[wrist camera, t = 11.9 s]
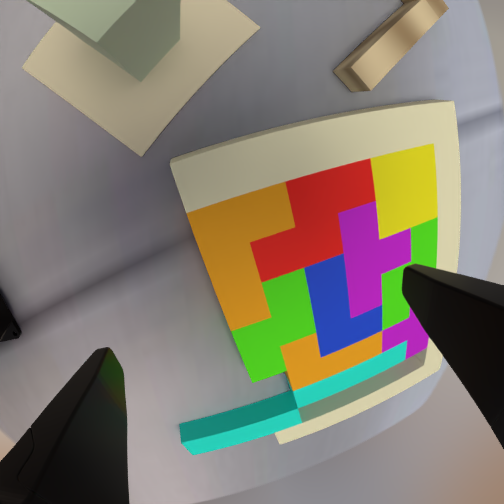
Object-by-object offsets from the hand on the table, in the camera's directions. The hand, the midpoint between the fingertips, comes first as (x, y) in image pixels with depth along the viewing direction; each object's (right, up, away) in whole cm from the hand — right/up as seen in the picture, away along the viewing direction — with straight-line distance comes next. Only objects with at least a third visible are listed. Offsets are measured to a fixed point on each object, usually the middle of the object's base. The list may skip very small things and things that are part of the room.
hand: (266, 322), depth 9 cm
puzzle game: (+4, -3, +18) cm, 18 cm away
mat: (-8, +15, +6) cm, 18 cm away
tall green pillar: (-8, +15, +6) cm, 17 cm away
